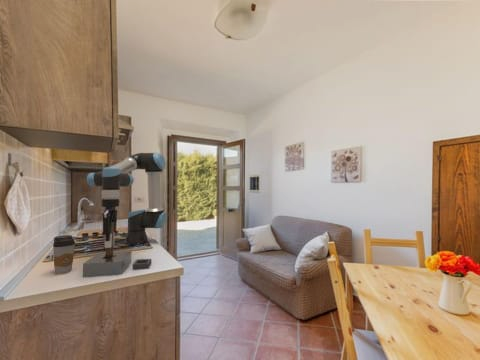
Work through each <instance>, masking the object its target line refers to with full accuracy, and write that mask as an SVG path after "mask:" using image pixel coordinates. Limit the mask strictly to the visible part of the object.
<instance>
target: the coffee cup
mask: <svg viewBox="0 0 480 360" xmlns="http://www.w3.org/2000/svg"><path fill="white" fill-rule="evenodd" d="M75 245H76V240H75V239H74V237H72V238H64V239H58V240H55V241H54V240H53V244H52V248H54V260H53V266H54V273H55V275H65V274H68V273H70V272H71V271H72V270H73V263H74V255H75Z"/></svg>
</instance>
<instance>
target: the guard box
mask: <svg viewBox="0 0 480 360" xmlns="http://www.w3.org/2000/svg"><path fill="white" fill-rule="evenodd" d="M105 254H106V252H98V253H96V254H95V255H93V256H92V257H90V258H89V259H88V260H86V261H85V262H84V263H82V278H90V277H91V278H93V277H104V276H106V277H107V276H121V275H123V274H124V272H125V271H126V270H127V269H128V268H129V266H130V265H131V264H132V251H113V257H114V258H111V259H105Z"/></svg>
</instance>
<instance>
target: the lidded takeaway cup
mask: <svg viewBox="0 0 480 360" xmlns="http://www.w3.org/2000/svg"><path fill="white" fill-rule="evenodd" d="M64 238H73V234H72V235H71V234H68V235H67V234H65V235H57V236H55V237H53V242H54V241H55V240H58V239H64ZM52 248H53V247H52ZM52 250H53V251H52V260H53V261H54V248H53V249H52Z"/></svg>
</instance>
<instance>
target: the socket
mask: <svg viewBox="0 0 480 360" xmlns="http://www.w3.org/2000/svg"><path fill="white" fill-rule="evenodd" d="M151 265H152V258H145V259H143V258H141V259H135V261H134V262H133V264H132V269H131V270H133V271H134V270H149V269H150V266H151Z"/></svg>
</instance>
